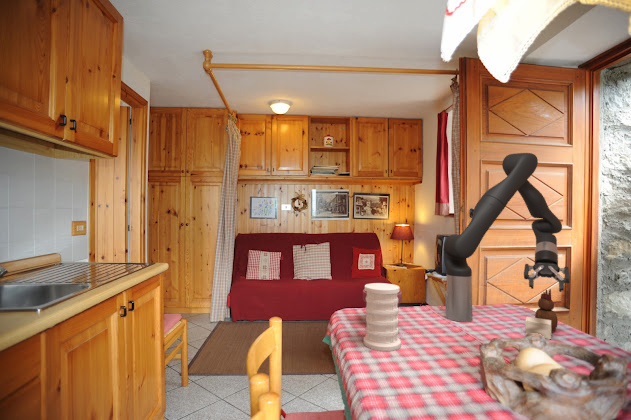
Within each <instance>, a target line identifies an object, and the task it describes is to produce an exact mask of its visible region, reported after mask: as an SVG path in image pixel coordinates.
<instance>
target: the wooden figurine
mask: <svg viewBox="0 0 631 420" xmlns="http://www.w3.org/2000/svg"><path fill="white" fill-rule="evenodd" d="M537 305H538V309H537V310H536V312H535V314H534V316H535V317H534V318H539V319H546V320H551V333H553V332H555V331H556V330H557V328H558V323H559V322H558V315H557V313H556V312H555V311H553V310H554V308H555V303H554V300H552V290H551V288H550V289H548V290H547V289H545V291H543V293H541V294H540V298H539V299H538V301H537Z"/></svg>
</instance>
